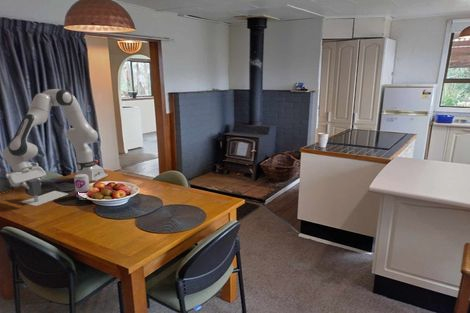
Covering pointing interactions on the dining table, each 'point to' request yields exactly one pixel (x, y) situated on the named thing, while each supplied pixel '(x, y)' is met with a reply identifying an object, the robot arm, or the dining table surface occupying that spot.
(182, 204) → the dining table surface
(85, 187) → the supplement can
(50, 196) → the post board
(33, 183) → the dark grey block
